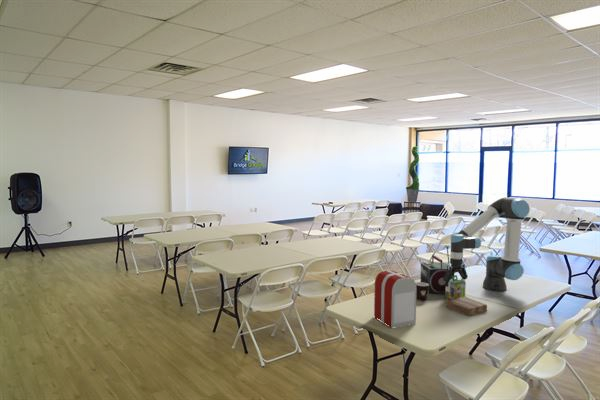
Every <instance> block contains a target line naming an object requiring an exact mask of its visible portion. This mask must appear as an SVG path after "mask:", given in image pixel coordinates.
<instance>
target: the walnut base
mask: <svg viewBox="0 0 600 400" xmlns="http://www.w3.org/2000/svg"><path fill="white" fill-rule="evenodd" d="M445 302H446V305H445V307H446V308H448V309H450V310H453V311H455V312H457V313H459V314H463V315H465V316H468V317H470V316H473V315H476V314H481V313H485V312H487V311H488V310H487V309H488V305H487V304H486V303H483V302H480V301H477V300H475V299H473V298H469V297H467V296H465V297H461V298H456V299H449V300H448V299H447V300H446V301H445Z"/></svg>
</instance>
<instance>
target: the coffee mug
mask: <svg viewBox="0 0 600 400" xmlns="http://www.w3.org/2000/svg"><path fill="white" fill-rule="evenodd" d="M415 283H416V301H420V300H421V301H420V302H423V301H424V300H425V301H427V298H428V294H429V293H428V286H429V284H427V283H424V282H420V281H415ZM425 301H424V302H425Z"/></svg>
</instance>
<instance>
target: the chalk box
mask: <svg viewBox="0 0 600 400" xmlns="http://www.w3.org/2000/svg"><path fill="white" fill-rule="evenodd" d="M449 282H450V292H447V291H446V286H445V294H444V295H445V296H444V297H445V298H447V299H449V300H452V299H456V298H461V297H466V284H467V283H466V281H465V282H464V281H461V279H458V275H457V274H456V275H455V274H454V276H452V279H450V281H449Z"/></svg>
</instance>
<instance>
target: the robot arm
mask: <svg viewBox="0 0 600 400" xmlns="http://www.w3.org/2000/svg"><path fill="white" fill-rule="evenodd" d="M530 209H531V208H530V205H529V203H528V202H527V201H526V200H525V199H522V198H515V197H508V196H507V197H502V198H499V199H497V200H496V201H493V202H492V203H491V204H490V205H489V206H488V207H487V208H486V210H485V211H483V213H482V212H481V214H479V216H477V217H476V218H475V219H474V220H472V221H471V222H469V224H467V225H466V226H464V228H462V229H461V230H460V231H458V232H453V233H452V234H451V235H450V256H449V263H450V266H447V270H446V273H445V276H444V278H443V281H445V286H446V291H447V292H450V282H449V281H450V279H451V278H452V276H453V274H454V275H455V274H457V273H458V274H459V276H460V280H461V281H464V282H466V280H467V278H468V273H467V269H466V266H465V264H463V263H464V262H463V259H464V250H465V249H466V250H468V249H470V250H471V249H473V250H474V249H479V248H481V246H482V241H481V238H480V237H478V236H474V235H475V234H477V233H478V232H479V231H481V229H483V228H484V227H485V226H487V225H488V224H489V223H491V222H492V221H493V220H494V219H495V218H496V219H497V218H499V217H500V216H502V215H504V219H505V220H506V227H505V239H504V248H503V249H504V250H503V255H497V254H496V255H495V254H493V255H488V256H487V257H486V261H485V262H486V264H485V277H484V280H483V282H482V287H483V288H484V289H486V290H489V291H490V290H491V291H497V292H502V291H503V292H504V291H507V284H506V283H507V282H506V279H507V280H510V281H517V280H519V279H520V278H522V276H523V274H524V266H523V265H522V264H521V259H520V258H519V255H520V254H519V252H520V241H521V234H522V233H521V232H522V231H521V230H522V224H523V223H522V222H523V221H525V218H526V217H527V216H528V215H529V214H530Z"/></svg>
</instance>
